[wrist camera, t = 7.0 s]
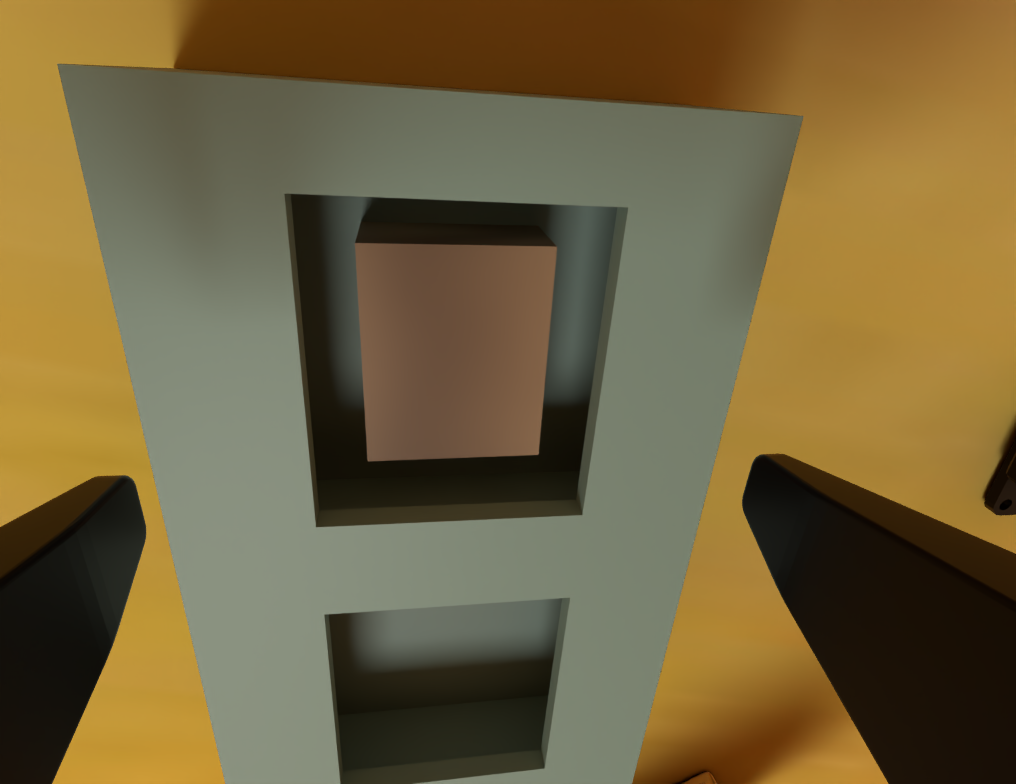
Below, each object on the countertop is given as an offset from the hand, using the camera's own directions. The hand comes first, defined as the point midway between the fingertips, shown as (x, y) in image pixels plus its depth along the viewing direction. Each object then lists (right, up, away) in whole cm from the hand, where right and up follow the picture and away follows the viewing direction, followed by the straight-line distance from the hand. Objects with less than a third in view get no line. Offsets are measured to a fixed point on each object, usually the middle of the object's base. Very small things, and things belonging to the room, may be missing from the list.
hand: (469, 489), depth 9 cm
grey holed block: (-1, 0, +10) cm, 10 cm away
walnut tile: (-1, +3, +6) cm, 7 cm away
